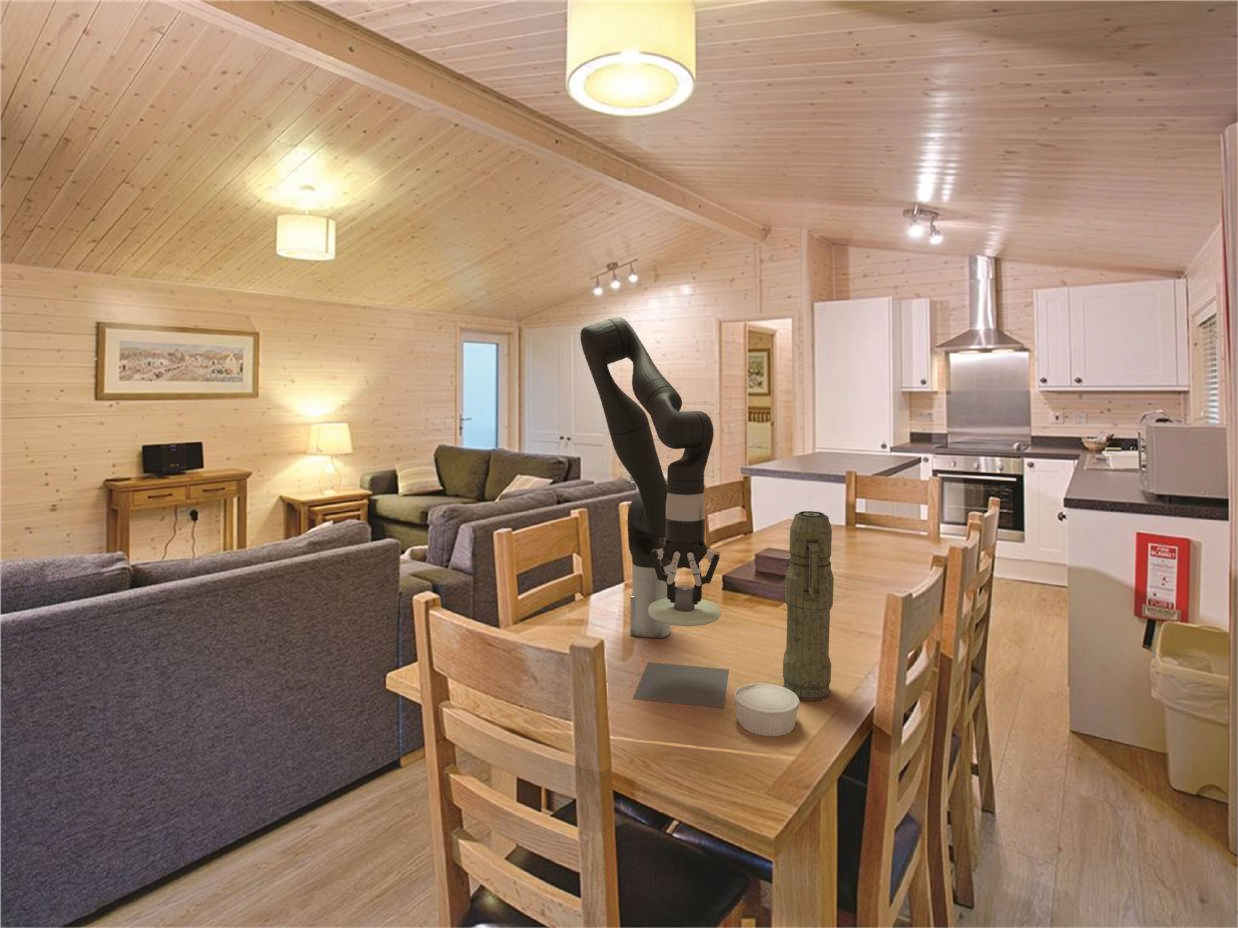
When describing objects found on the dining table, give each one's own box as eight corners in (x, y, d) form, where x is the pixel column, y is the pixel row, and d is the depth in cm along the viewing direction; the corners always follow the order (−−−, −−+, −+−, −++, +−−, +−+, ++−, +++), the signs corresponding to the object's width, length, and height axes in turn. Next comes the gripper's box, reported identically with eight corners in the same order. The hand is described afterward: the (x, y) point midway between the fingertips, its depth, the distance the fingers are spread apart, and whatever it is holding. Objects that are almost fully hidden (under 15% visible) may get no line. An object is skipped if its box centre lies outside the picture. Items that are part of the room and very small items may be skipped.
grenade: (821, 677, 132) (826, 507, 128) (837, 705, 120) (844, 519, 116) (777, 676, 132) (781, 507, 129) (789, 704, 121) (794, 519, 117)
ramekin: (752, 703, 121) (752, 676, 121) (809, 722, 114) (810, 693, 114) (721, 727, 113) (721, 698, 112) (781, 749, 106) (782, 718, 105)
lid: (642, 622, 121) (642, 596, 121) (654, 599, 135) (654, 576, 134) (718, 628, 118) (718, 602, 118) (722, 604, 132) (723, 580, 131)
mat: (632, 701, 122) (632, 698, 122) (648, 664, 139) (648, 662, 139) (723, 710, 119) (723, 707, 118) (728, 671, 135) (728, 669, 135)
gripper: (645, 517, 122) (645, 606, 124) (721, 520, 119) (720, 611, 121) (652, 510, 130) (651, 594, 132) (724, 513, 126) (722, 599, 128)
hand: (684, 601), depth 126 cm, fingers closed on lid, 4 cm apart
